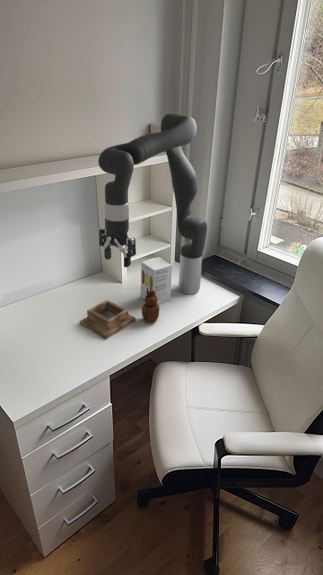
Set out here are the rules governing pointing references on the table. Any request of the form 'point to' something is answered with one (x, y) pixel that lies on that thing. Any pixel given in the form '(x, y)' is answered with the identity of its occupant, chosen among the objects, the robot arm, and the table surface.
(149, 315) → the wooden figurine
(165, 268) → the supplement box
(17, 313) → the table surface
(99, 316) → the holder
